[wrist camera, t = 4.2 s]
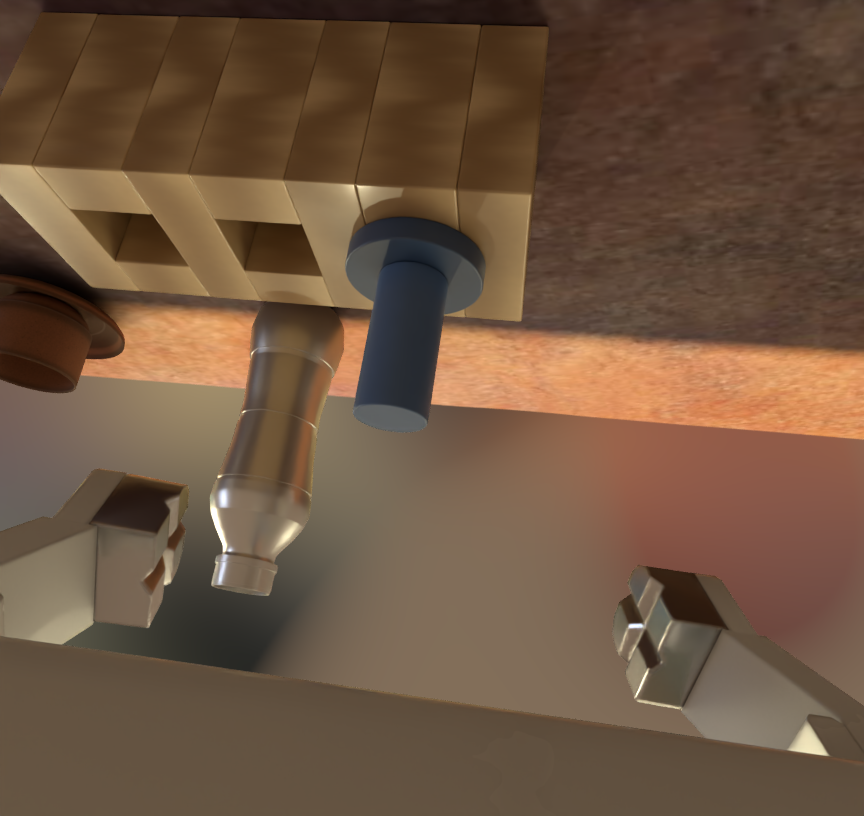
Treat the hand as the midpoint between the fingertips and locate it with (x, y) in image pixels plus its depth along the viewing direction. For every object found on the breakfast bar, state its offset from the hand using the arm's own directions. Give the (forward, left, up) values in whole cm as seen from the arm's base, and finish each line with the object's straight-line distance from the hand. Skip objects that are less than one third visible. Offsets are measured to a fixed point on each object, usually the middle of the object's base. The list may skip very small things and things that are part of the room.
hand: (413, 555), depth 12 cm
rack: (+9, +11, -22) cm, 26 cm away
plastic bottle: (+14, +30, -22) cm, 40 cm away
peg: (+3, +11, -20) cm, 23 cm away
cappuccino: (-4, +32, -21) cm, 39 cm away
